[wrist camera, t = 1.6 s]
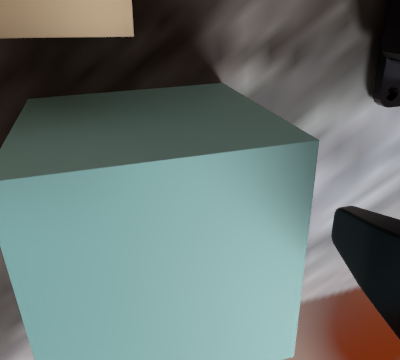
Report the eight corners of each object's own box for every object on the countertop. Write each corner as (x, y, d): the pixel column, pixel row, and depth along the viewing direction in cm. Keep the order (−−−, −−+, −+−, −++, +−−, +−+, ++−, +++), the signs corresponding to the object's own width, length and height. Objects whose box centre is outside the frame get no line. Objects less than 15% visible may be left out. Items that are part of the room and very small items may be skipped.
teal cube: (221, 82, 13) (319, 139, 7) (221, 234, 15) (293, 356, 10) (28, 98, 11) (-19, 183, 6) (64, 262, 14) (53, 421, 9)
